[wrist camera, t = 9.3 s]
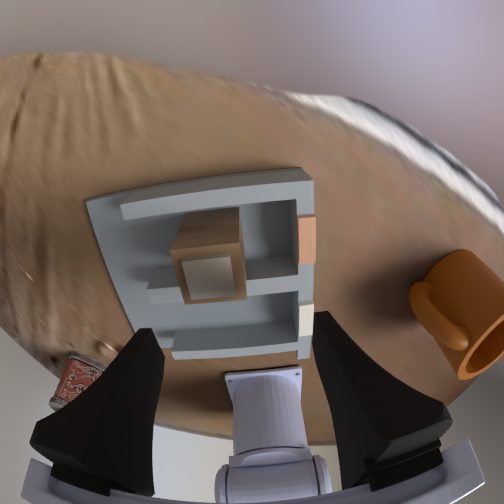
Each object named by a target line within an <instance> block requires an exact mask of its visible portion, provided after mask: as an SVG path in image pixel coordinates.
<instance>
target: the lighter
mask: <svg viewBox="0 0 504 504" xmlns="http://www.w3.org/2000/svg"><path fill="white" fill-rule="evenodd" d="M68 361H69V362H68V364H67V366H66V369H65V371H64V373H63V375H62V377H61V380H60V382H59V384H58V387H57V389H56V391H55V394H54V396H53V397H52V398H51V399H50V402H49V405H50V407H51V408H52V409H53V410H55V411H57V410H59V409H61V408H62V407H64V406H65V405H66V404H68V403H69V402H71V401H72V400H73V399H74V398H76V397H77V396H78V395H79V394H81V393H82V392H83V391H84V390H85V389H87V388H88V387H89V386H90V385H91V384H92V383H93V382H94V381H95V380H96V379H97V378H98V377H99V376H100V375H101V374H102V373H103V371H104V370H105V369H106V368H107V367H108V366H106V365H105V364H103V363H101V362H99V361H97V360H95V359H93V358H91V357H88V356H86V355H84V354H81V353H79V352H75V351H74V352H72V353H71V355H70V357H69V359H68Z"/></svg>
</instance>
